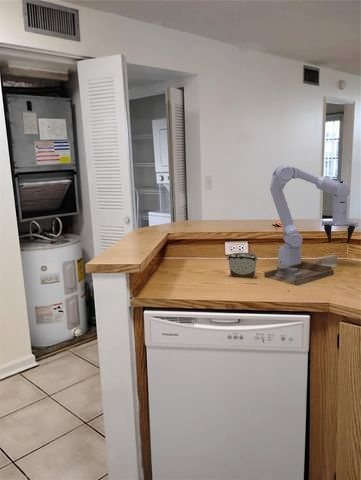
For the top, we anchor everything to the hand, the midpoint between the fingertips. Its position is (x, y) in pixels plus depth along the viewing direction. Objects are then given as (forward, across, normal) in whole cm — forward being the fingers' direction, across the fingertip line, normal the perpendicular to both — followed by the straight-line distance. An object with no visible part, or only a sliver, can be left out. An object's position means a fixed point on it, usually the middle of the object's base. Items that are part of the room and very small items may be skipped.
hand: (339, 242), depth 179 cm
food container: (+10, -29, -35) cm, 47 cm away
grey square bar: (+9, -12, -33) cm, 36 cm away
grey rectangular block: (+10, -3, -11) cm, 15 cm away
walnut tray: (+10, -10, -28) cm, 31 cm away
